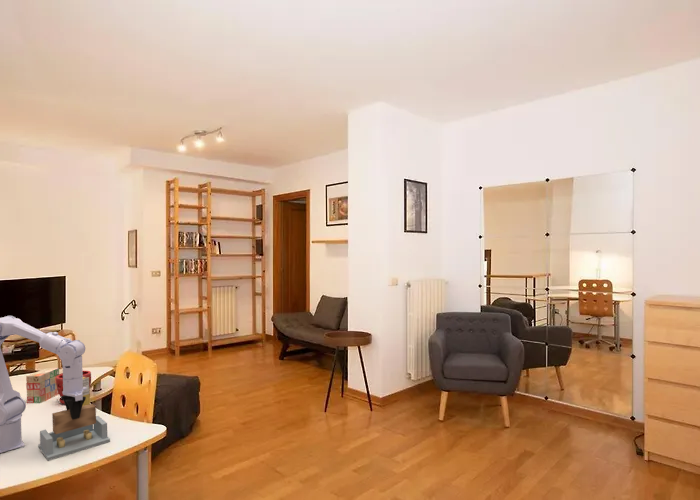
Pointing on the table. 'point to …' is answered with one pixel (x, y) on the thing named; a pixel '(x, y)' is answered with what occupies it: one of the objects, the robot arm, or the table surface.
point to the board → (65, 422)
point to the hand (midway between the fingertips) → (73, 416)
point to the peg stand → (73, 440)
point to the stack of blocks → (42, 385)
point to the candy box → (86, 391)
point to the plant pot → (60, 383)
